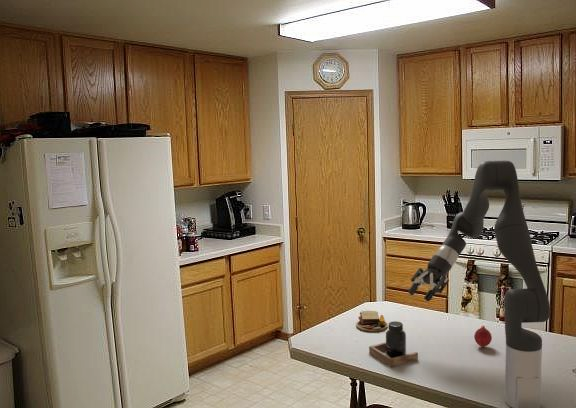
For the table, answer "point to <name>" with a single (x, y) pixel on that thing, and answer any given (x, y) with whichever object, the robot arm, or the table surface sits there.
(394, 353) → the supplement bottle
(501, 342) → the table surface
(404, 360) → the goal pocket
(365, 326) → the toy sandwich meal
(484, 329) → the onion
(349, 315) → the table surface
